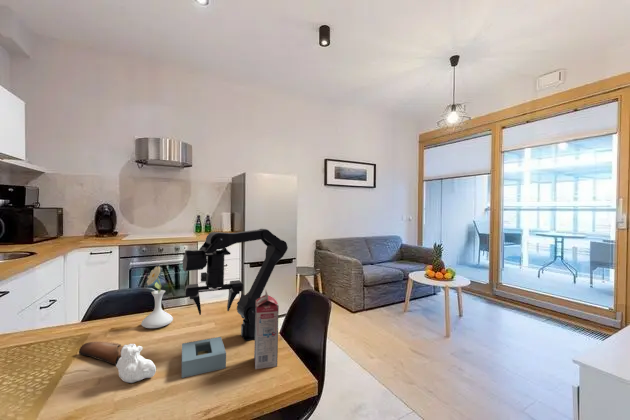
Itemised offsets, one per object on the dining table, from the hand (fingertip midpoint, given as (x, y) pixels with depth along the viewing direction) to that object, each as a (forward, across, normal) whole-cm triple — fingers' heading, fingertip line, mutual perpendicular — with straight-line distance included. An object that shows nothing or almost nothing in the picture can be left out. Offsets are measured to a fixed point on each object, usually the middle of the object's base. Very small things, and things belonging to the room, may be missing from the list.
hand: (214, 312), depth 94 cm
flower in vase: (+12, +19, -28) cm, 36 cm away
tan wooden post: (+12, +4, +9) cm, 16 cm away
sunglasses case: (+13, +31, -9) cm, 35 cm away
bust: (+12, +22, +10) cm, 27 cm away
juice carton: (+12, -14, +17) cm, 25 cm away
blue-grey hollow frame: (+12, +4, +9) cm, 16 cm away
